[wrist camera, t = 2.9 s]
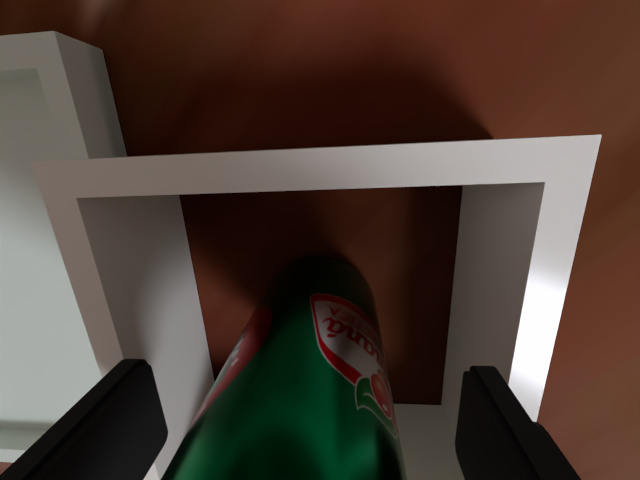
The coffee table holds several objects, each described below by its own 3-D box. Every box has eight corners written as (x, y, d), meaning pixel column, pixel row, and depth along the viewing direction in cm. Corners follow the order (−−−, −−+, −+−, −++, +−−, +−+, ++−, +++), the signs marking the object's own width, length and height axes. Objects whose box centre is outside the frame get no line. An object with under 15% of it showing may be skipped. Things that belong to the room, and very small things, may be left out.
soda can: (392, 322, 14) (583, 1062, 3) (301, 360, 15) (170, 998, 4) (341, 232, 13) (308, 861, 2) (248, 280, 14) (-167, 853, 3)
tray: (-179, 73, 13) (-270, 60, 11) (102, 49, 12) (54, 30, 10) (-4, 427, 19) (-43, 459, 17) (192, 436, 18) (174, 471, 16)
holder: (149, 155, 13) (30, 161, 8) (494, 138, 11) (601, 134, 7) (203, 411, 17) (147, 515, 12) (459, 420, 16) (509, 542, 11)
